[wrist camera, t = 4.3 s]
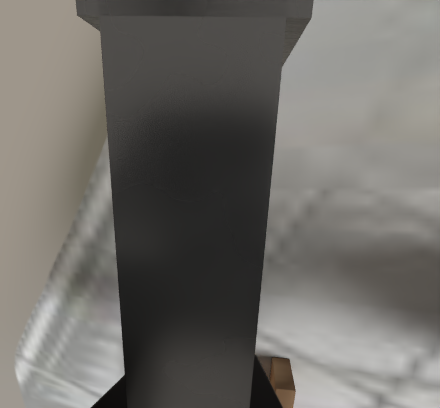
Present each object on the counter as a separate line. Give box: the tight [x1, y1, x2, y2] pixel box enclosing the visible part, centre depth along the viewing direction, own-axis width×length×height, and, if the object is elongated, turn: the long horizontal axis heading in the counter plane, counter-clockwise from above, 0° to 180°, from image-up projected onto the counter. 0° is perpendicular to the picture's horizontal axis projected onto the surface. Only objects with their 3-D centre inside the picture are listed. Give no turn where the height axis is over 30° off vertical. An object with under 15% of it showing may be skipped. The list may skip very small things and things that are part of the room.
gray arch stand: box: [76, 0, 313, 408], centre depth 9 cm, size 7×20×8 cm, turn 178°
